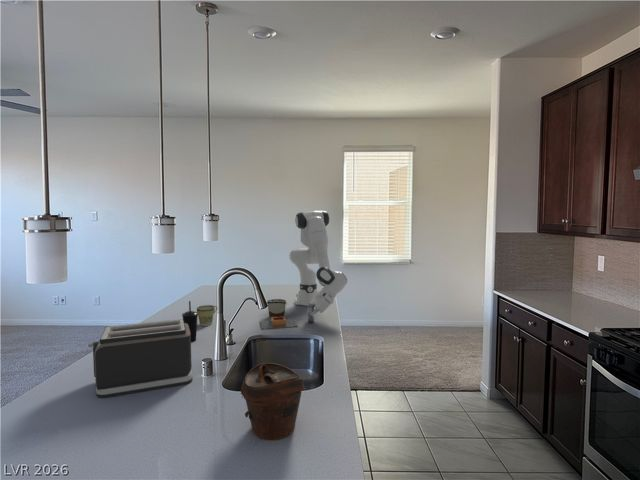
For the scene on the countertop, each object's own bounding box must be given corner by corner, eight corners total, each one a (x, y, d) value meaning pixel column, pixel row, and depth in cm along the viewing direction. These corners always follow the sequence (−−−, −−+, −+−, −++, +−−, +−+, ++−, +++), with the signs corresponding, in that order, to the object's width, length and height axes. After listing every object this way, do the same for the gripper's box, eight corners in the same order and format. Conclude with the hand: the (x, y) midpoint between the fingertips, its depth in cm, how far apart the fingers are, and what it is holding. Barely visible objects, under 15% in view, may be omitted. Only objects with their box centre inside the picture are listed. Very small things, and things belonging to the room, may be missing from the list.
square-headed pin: (306, 321, 226) (306, 302, 225) (313, 321, 226) (313, 302, 226) (308, 323, 222) (308, 304, 221) (315, 323, 223) (315, 303, 222)
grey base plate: (259, 322, 224) (259, 316, 224) (293, 320, 229) (293, 314, 229) (261, 329, 211) (261, 323, 210) (297, 326, 215) (297, 320, 215)
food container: (288, 314, 241) (288, 299, 240) (286, 317, 235) (286, 301, 234) (269, 314, 242) (268, 298, 242) (266, 316, 236) (266, 300, 235)
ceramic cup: (204, 327, 214) (203, 310, 213) (193, 324, 220) (192, 307, 219) (222, 322, 224) (222, 305, 224) (212, 319, 231) (211, 303, 230)
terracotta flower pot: (259, 406, 127) (258, 353, 125) (315, 419, 119) (315, 362, 117) (226, 436, 110) (225, 375, 109) (289, 453, 102) (288, 388, 101)
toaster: (94, 379, 148) (92, 327, 147) (189, 365, 162) (188, 317, 160) (85, 401, 131) (83, 342, 129) (193, 384, 144) (191, 330, 142)
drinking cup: (179, 340, 192) (178, 301, 191) (194, 337, 198) (192, 298, 197) (187, 344, 187) (186, 303, 186) (201, 340, 193) (200, 301, 191)
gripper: (318, 288, 235) (302, 305, 233) (326, 295, 215) (309, 314, 213) (325, 295, 236) (310, 312, 234) (334, 303, 216) (317, 321, 214)
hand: (309, 313), depth 224 cm, fingers open, 7 cm apart
